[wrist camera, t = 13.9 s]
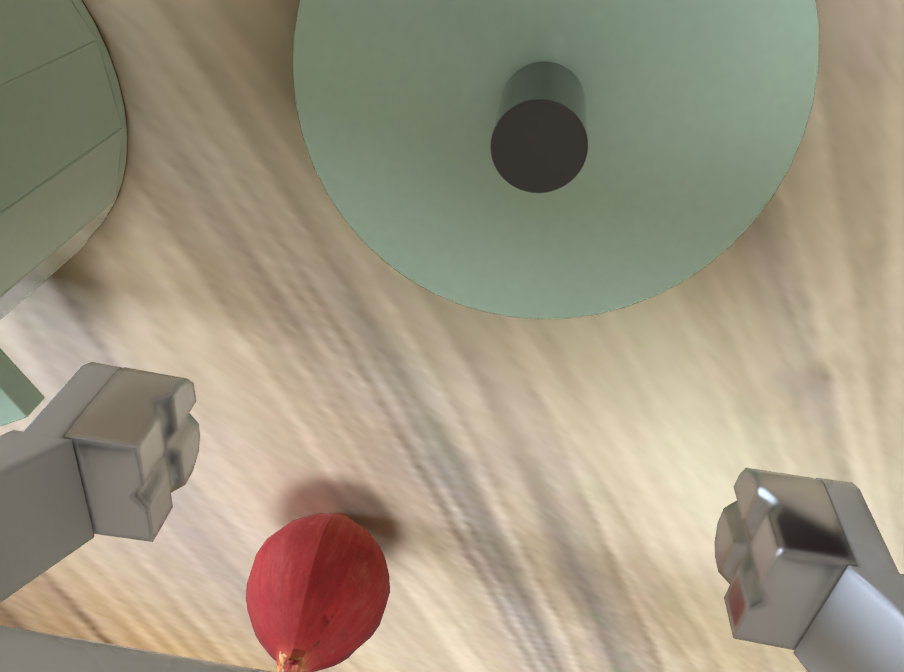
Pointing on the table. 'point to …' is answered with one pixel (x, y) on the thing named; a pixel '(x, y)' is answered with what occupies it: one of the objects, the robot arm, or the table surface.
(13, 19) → the pot
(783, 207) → the table surface
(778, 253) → the table surface
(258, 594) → the onion
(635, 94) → the pot lid
